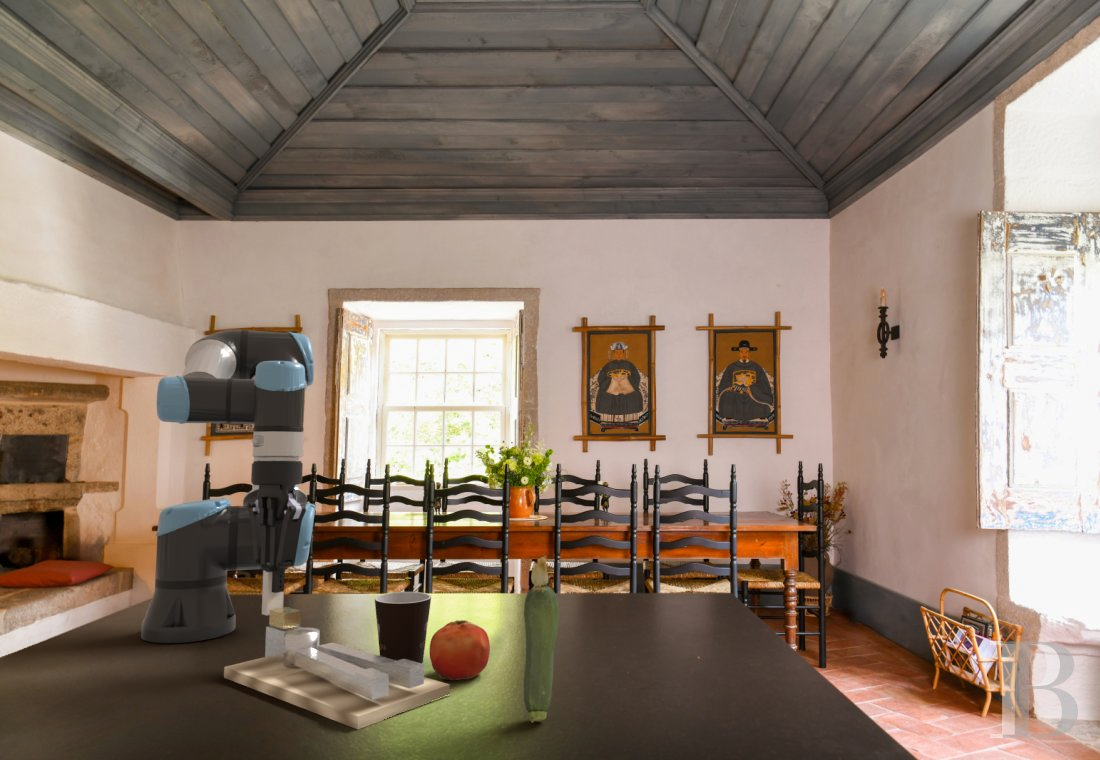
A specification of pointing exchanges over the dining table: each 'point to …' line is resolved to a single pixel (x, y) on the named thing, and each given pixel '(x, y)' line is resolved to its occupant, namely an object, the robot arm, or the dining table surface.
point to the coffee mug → (402, 624)
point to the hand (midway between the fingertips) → (272, 613)
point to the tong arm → (344, 673)
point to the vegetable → (539, 642)
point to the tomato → (459, 650)
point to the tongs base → (338, 654)
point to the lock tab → (285, 617)
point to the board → (330, 692)
